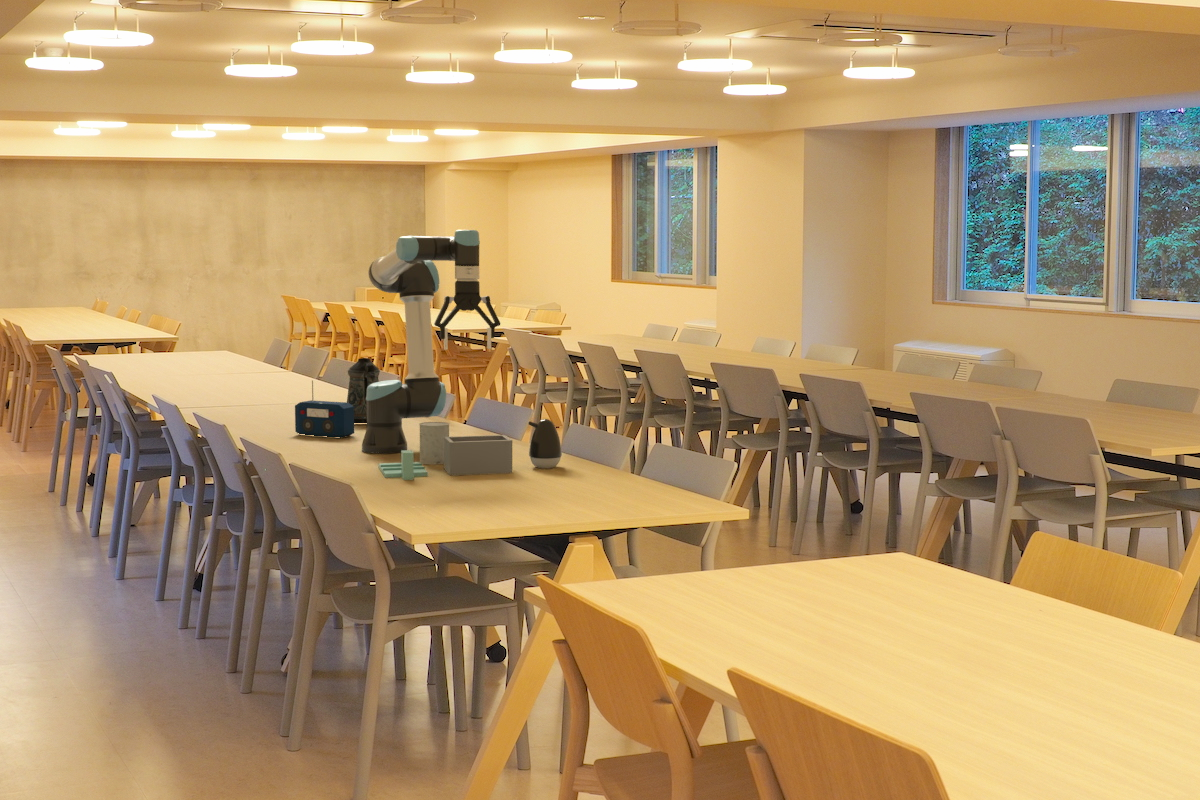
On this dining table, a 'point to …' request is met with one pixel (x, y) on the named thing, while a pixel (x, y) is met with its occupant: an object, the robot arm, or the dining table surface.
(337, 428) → the radio
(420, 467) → the ridged green paddle
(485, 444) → the tub
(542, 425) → the pump dispenser
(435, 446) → the grey speckled cylinder
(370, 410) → the robot arm
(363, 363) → the beer stein
